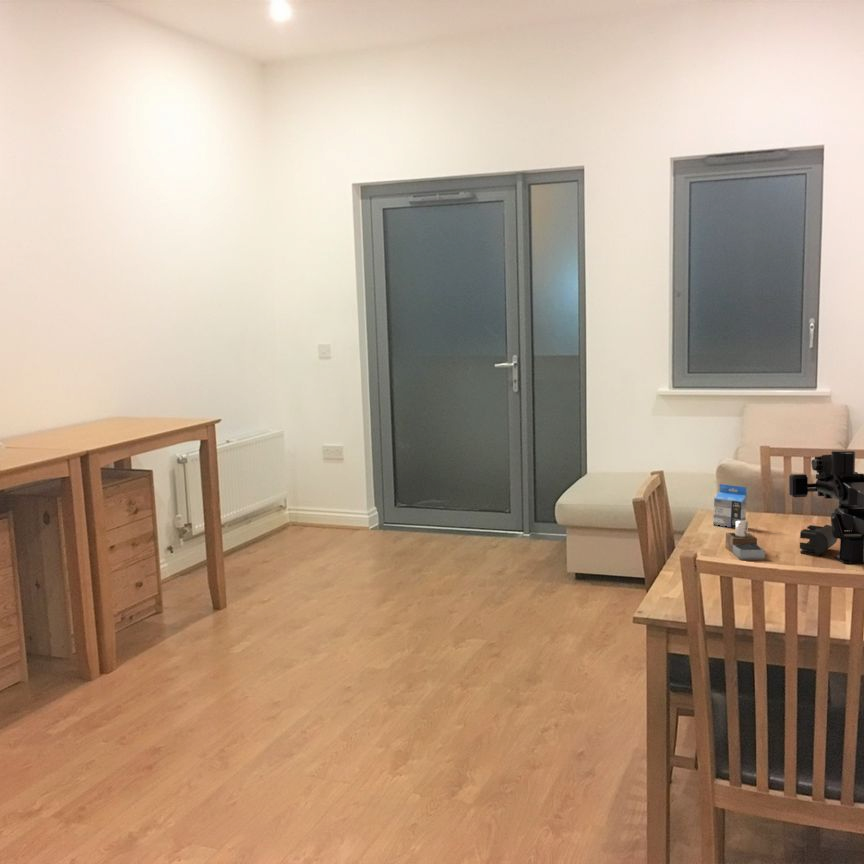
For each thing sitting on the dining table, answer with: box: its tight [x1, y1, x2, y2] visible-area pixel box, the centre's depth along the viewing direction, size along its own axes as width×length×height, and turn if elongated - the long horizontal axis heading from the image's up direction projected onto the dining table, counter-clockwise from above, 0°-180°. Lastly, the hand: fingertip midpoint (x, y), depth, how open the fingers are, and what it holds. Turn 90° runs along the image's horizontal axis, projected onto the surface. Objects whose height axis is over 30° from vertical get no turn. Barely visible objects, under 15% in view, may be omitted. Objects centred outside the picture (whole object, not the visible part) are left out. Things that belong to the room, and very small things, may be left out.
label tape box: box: [712, 483, 748, 529], centre depth 276 cm, size 9×4×12 cm, turn 48°
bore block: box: [725, 532, 758, 554], centre depth 249 cm, size 6×6×4 cm
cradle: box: [732, 543, 766, 561], centre depth 242 cm, size 6×6×2 cm
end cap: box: [799, 524, 839, 557], centre depth 246 cm, size 10×7×7 cm
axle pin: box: [734, 519, 749, 538], centre depth 249 cm, size 3×3×8 cm
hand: (810, 480), depth 260 cm, fingers open, 9 cm apart
